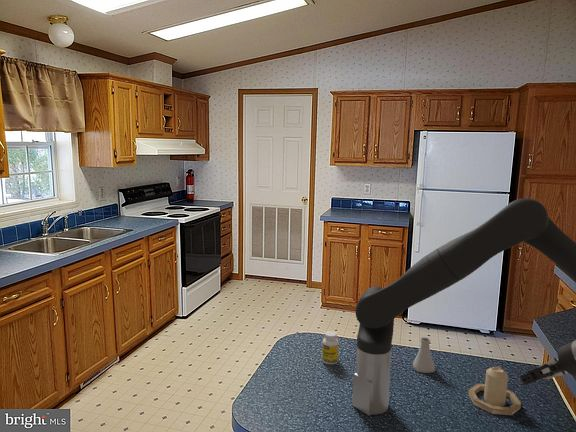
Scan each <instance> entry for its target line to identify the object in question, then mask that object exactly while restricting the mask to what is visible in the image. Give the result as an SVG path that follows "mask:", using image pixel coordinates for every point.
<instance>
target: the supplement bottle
mask: <svg viewBox="0 0 576 432" xmlns="http://www.w3.org/2000/svg"><path fill="white" fill-rule="evenodd" d="M337 337H338V333H337V332H335V331H332V330H327V331H325V332H324V338H323V340H322V348H321V350H322V351H321V361H322V362H323V363H324V364H326V365H335V364H337V363H339V339H338V338H337Z"/></svg>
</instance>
